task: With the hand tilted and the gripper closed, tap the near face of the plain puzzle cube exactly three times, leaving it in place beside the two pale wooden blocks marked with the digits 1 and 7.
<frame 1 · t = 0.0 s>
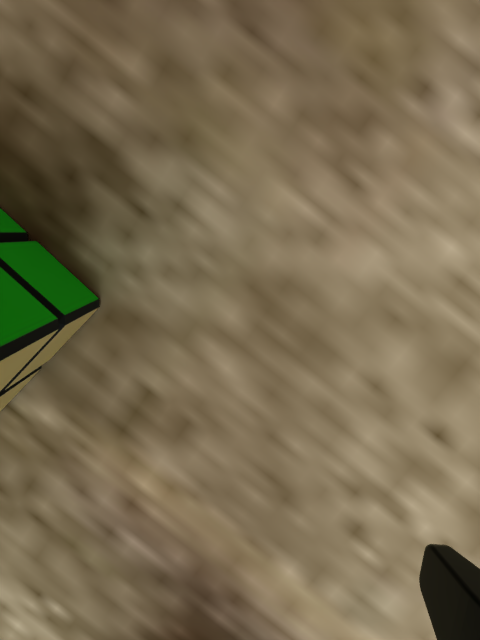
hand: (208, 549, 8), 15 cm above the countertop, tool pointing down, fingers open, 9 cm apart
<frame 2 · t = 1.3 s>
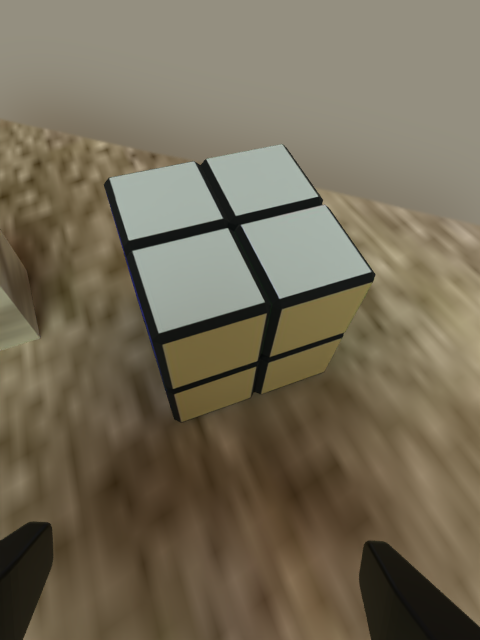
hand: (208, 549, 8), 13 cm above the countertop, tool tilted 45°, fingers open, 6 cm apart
puzzle cube: (227, 333, 27), on the countertop
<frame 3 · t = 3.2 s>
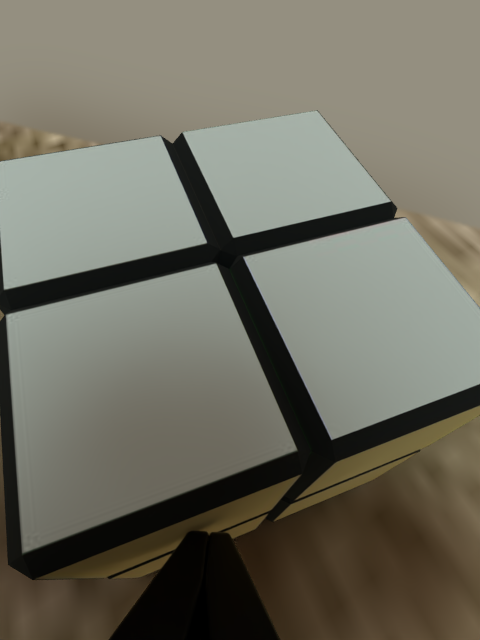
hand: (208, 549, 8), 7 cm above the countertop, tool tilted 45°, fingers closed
puzzle cube: (220, 408, 18), on the countertop, touching gripper
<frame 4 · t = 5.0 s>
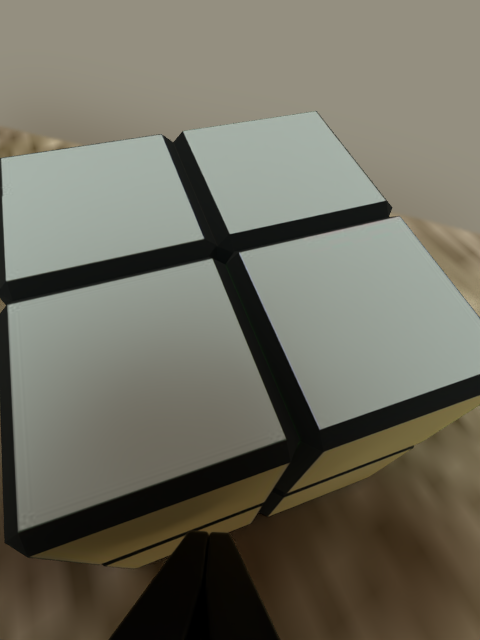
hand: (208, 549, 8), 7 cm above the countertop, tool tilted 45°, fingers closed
puzzle cube: (218, 404, 18), on the countertop
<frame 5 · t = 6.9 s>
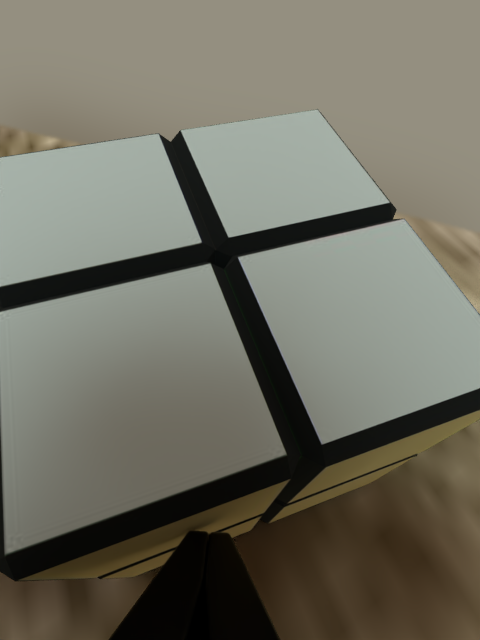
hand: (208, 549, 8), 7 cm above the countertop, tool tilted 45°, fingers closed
puzzle cube: (218, 408, 17), on the countertop
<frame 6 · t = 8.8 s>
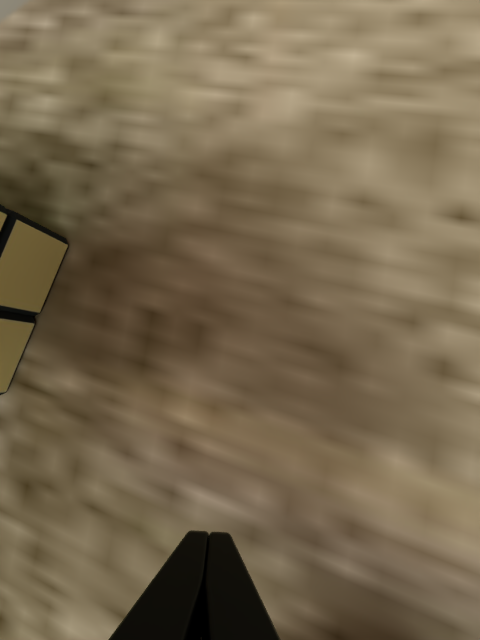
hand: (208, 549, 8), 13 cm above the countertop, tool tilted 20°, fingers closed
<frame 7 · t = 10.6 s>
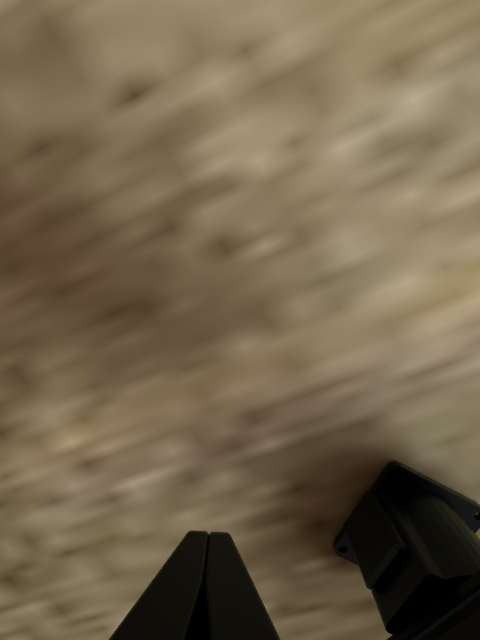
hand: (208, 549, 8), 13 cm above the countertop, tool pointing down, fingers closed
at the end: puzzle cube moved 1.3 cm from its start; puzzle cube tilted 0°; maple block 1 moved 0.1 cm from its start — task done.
